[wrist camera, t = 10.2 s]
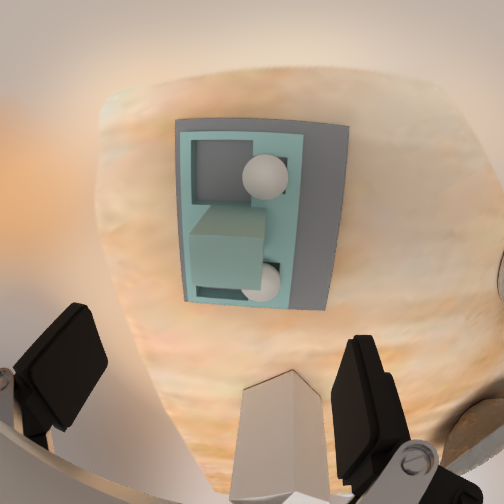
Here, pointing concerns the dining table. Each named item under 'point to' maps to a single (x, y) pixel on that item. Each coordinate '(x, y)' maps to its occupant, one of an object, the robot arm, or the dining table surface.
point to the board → (310, 200)
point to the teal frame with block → (239, 226)
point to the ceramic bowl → (475, 437)
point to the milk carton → (281, 445)
